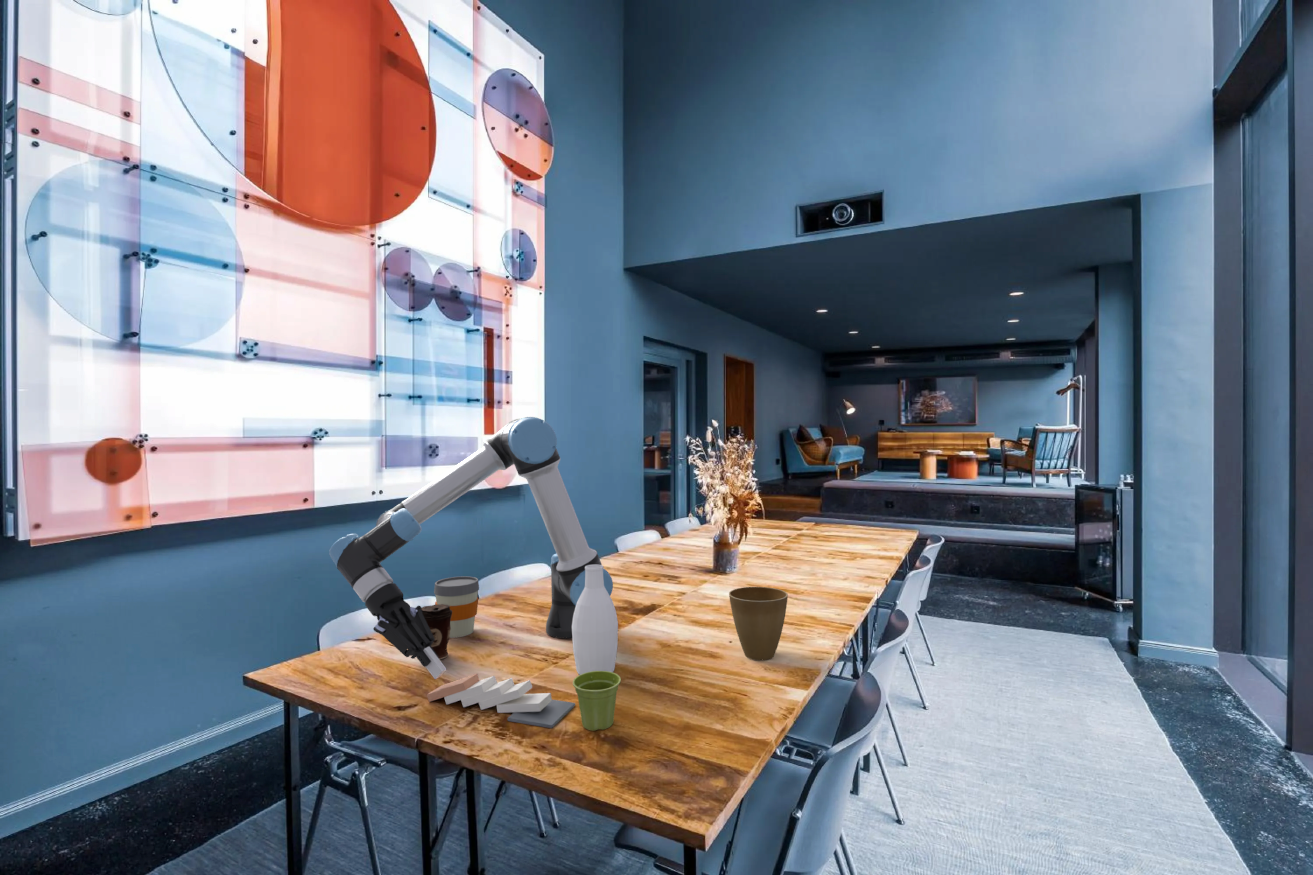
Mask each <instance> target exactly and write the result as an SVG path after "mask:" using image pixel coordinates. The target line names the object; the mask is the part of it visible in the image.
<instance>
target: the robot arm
mask: <svg viewBox="0 0 1313 875" xmlns="http://www.w3.org/2000/svg"><path fill="white" fill-rule="evenodd" d="M557 444H558V440H557V434H556V432H555V430H554V429H553V427H552V426H551V425H550V423H548V422H547V421H546V420H543V419H541V418H538V417H536V416H526V417H523V418H516V419H512V420H511V421H509V422H508V423H507V424H506V425H503V427H502V428H500V429H499V431H497V432H496V433H494V434H493V435H492V436H491V437H489V438H488V439H486V440H485V441H484V442H483V446H482V448H479V449H478V450H477V451H475V452H474V453H472V454H471V455H469V456H468V457H466V458H465V459H464V460H462V461H460V462H459V463H458V464H456V465H455V466H453V467H451V468H450V469H449V470H447V471H446V472H444V473H443V474H441V475H440V476H438V477H437V478H435V479H434V480H433V481H431V482H430V483H428V484H426V485H425V486H423V487H422V488H421V489H419V490H417V491H416V492H415V493H413V494H412V495H410V496H409V497H407V498H406V499H404V500H402V501H401V502H400V503H398V504H396V506H394V507H393V508H391V509H389V510H385V511H384V512H383V513H382V514H380V515H379V516H378V518H376V523H375V527H373V528H372V529H370V530H368V532H366V533H365V534H364V535H362V536H360V535H359V534H357V533H349V534H346V535H344V536H343V537H340V538H339V539H337V540H336V541H335V542H334V543H333V544H332V545H331V546H330V548H329V550H328V554H329V557H330V559H331V560H332V561H333V563H334V565H335V568H337V570H338V571H339V572H340V574H341V575H342V576H343V577H344V579H345V580H346V582H347V583H348V584H349V585H350V587H351V588H352V589H353V591H354V592H355V593H356V594H357V596H358V597H359V599H360V600H361V602H362V603H364V605H365V607H366V608H367V610H368V612H369V613H370V614H371V615H372V616H373V617H376V619H377V621H378V622H377V623H376V625H375V626H374V627H373V631H374V632H375V633H377V634H380V635H381V636H383V637H384V638H385V639H386V640H387V642H389V643H390V644H391V645H392V646H393V647H394V648H395V649H397V650H398V651H399V652H400V653H401V654H402V655H403V656H404V657H406V658H411V659H412V660H413V659H417V660H418V661H419V663H420V664H421V665H422V667H424V668H426V669H427V671H428V672H429V673H430V674H431V676H432V677H433V679H434V680H437V679H439V678H440V677H441V676H442V675H443V674H444V673H445V671H446V670H447V668H446V666H445V665H444V664H443V663H442V661H441V659H439V657H438V655H437V654H436V652H435V651H434V650H433V648H432V647H431V644H432V643H433V641H434V640H435V638H434V636H433V634H432V632H431V630H430V628H429V626H428V624H427V622H426V620H425V618H424V616H423V614H422V606H420V605H417V606H416V607H413V606H411V605H410V604H409V603H408V602H406V601H405V600H404V593H403V591H402V590H401V589H400V588H399V586H398V585H397V584H396V583H394V580H393V578H392V577H391V575H390V574H389V573H388V571H387V570H386V569H385V567H383V566H382V564H381V563H383V561H385V560H387V558H388V557H390V556H391V555H393V554H394V553H396V552H397V551H398V550H400V549H401V548H403V547H404V546H405V545H406V544H408V543H409V542H411V541H413V540H414V538H416V537H417V536H418V535H420V533H421V532H422V526H421V525H422V524H423V523H424V522H426V521H427V520H428V519H430V518H432V517H433V516H434V515H436V514H437V513H439V512H440V511H441V510H443V509H445V508H446V507H448V506H449V505H450V504H452V503H453V502H455V501H456V500H458V499H459V498H460V497H461V496H464V495H465V494H466V493H468V492H469V491H470V490H472V489H474V488H475V487H476V486H479V484H480V483H482V482H484V481H485V480H486V479H487V478H489V477H491V476H492V475H494V474H495V473H496V472H498V471H500V470H501V471H506V470H507V469H509V468H510V467H511V466H514V467H515V469H516V472H517V474H518V476H519V477H522V478H524V479H526V481H527V484H528V486H529V488H530V492H531V493H532V495H533V498H534V501H535V503H536V506H537V508H538V511H539V513H540V516H541V518H542V520H543V523H544V525H545V529H546V530H547V534H548V535H549V538H550V541H551V543H552V546H553V549H554V550H555V553H554V554H552V556H551V558H550V573H551V574H550V575H551V576H550V577H551V578H550V580H551V584H550V585H551V588H550V589H551V607H550V609H549V613H548V617H547V619H546V623H545V633H546V635H548V636H550V637H552V638H557V639H572V621H573V614H574V611H575V607H576V604H577V601H578V599H579V597H580V595H581V593H582V592H583V590H584V588H585V566H587V565H596V564H597V565H603V564H602V562H601V559H600V556H599V555H598V554H599V553H598V552H597V550H596V549H594V548H591V547H590V546H589V544H588V541H587V539H586V536H585V534H584V531H583V529H582V526H581V524H580V522H579V521H580V520H579V518H578V516H577V514H576V511H575V507H574V506H573V503H572V501H571V498H570V496H569V493H568V490H567V488H566V485H565V483H564V480H563V477H562V475H561V473H560V469H559V464H560V462H561V456H560V454H559V451H558V449H557ZM603 579H604V587H605V589H606V590H607V592H608V594H609V595H610V596H611V594H612V593H613V588H614V583H613V578H612V576H611V574H610V573H609V572H608V571H607V569H606V568H603Z"/></svg>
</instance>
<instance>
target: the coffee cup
mask: <svg viewBox="0 0 1313 875" xmlns="http://www.w3.org/2000/svg"><path fill="white" fill-rule="evenodd" d="M421 608H422V614H423V616H424V618H425V620H426V622H427V624H428V626H429V628H430V630H431V632H432V634H433V636H434V638H435V640H434V641H433V643H432V644H431V647H432V648H433V650H434V651H435V652H436V654H437V655H438V657H439V660H442V659H443V660H444V659H446V658H447V657H448V656H449V652H448V649H447V648H448V643H449V641H450V639H451V638H450V631H451V625H450V621H451V616H452V610H450V606H449V605H446V604H439V605H435V604H431V605H424V606H421Z"/></svg>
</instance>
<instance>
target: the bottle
mask: <svg viewBox="0 0 1313 875" xmlns="http://www.w3.org/2000/svg"><path fill="white" fill-rule="evenodd" d="M603 569H605V568H604V565H603V564H602V565H597V564H596V565H587V566H585V588H584V590H583V592H582V593H581V595H580V597H579V599H578V601H577V604H576V607H575V611H574V614H573V621H572V638H571V640H572V651H573V656H574V657H573V658H574V663H575V670H576V672H577V674H578V676H579V675H581V674H583V673H587V672H591V671H609V672H613V673H614V671H615V668H616V660H617V654H618V639H619V638H618V636H619V621H618V616H617V610H616V608H615V604H614V602H613V599H612V597H611V595H609V594H608V592H607V590H606V589H605V587H604V579H603Z"/></svg>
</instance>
